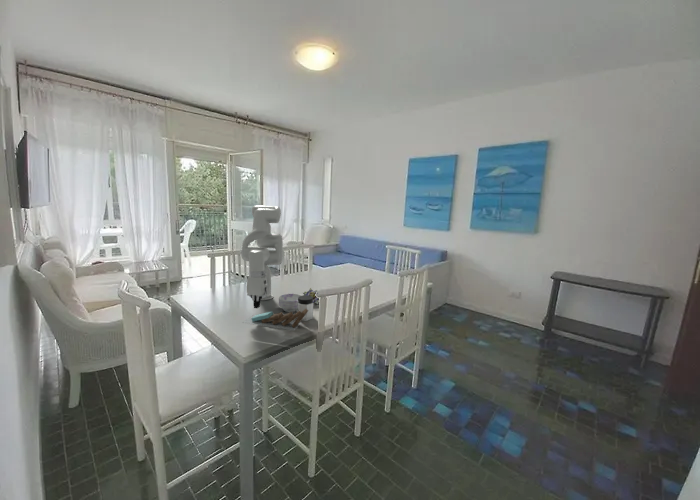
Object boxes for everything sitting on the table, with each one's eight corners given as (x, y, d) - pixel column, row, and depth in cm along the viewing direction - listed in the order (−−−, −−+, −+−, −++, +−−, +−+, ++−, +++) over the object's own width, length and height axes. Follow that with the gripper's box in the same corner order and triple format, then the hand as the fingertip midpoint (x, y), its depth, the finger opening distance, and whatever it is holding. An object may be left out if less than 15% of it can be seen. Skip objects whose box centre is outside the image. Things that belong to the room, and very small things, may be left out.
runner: (242, 323, 150) (242, 322, 150) (252, 315, 160) (252, 315, 160) (294, 331, 144) (294, 330, 144) (301, 323, 153) (301, 322, 153)
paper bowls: (290, 303, 182) (290, 291, 180) (309, 308, 175) (310, 296, 173) (273, 310, 168) (273, 297, 167) (293, 316, 161) (294, 303, 160)
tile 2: (261, 320, 150) (277, 315, 147) (266, 316, 155) (282, 312, 152) (262, 323, 150) (278, 318, 148) (267, 319, 155) (283, 315, 152)
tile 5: (291, 325, 146) (302, 311, 144) (295, 322, 151) (305, 308, 149) (294, 328, 146) (304, 314, 144) (298, 324, 151) (308, 310, 149)
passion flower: (312, 314, 180) (303, 301, 173) (305, 305, 189) (297, 293, 182) (326, 303, 183) (318, 290, 176) (319, 294, 191) (311, 282, 185)
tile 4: (281, 323, 148) (295, 314, 145) (285, 319, 152) (299, 310, 150) (283, 326, 148) (297, 316, 145) (287, 322, 152) (301, 313, 150)
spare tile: (251, 318, 151) (267, 314, 149) (256, 314, 156) (272, 311, 154) (252, 321, 151) (268, 317, 149) (257, 318, 156) (273, 314, 154)
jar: (306, 313, 166) (306, 293, 164) (315, 318, 161) (316, 297, 159) (294, 318, 160) (294, 297, 158) (303, 322, 154) (304, 301, 152)
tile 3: (271, 321, 149) (287, 315, 146) (276, 318, 154) (291, 311, 151) (273, 324, 149) (289, 318, 146) (277, 321, 154) (293, 314, 151)
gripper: (273, 273, 151) (273, 306, 154) (248, 270, 155) (248, 303, 158) (266, 277, 144) (266, 311, 147) (239, 274, 147) (240, 308, 150)
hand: (256, 307), depth 152 cm, fingers closed
